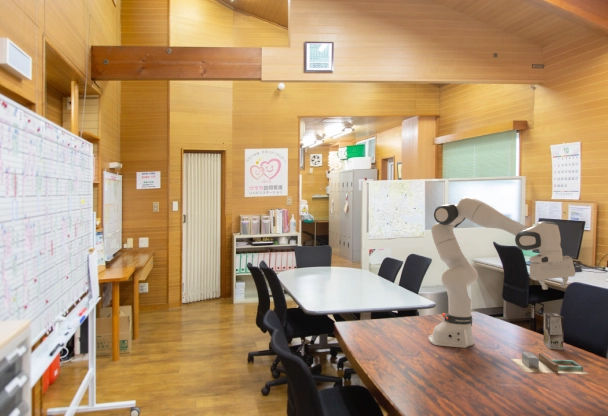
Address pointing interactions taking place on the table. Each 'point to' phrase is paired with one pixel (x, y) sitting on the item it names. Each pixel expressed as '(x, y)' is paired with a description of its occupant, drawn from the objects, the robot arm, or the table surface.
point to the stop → (530, 360)
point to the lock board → (552, 366)
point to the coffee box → (553, 330)
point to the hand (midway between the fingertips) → (554, 288)
